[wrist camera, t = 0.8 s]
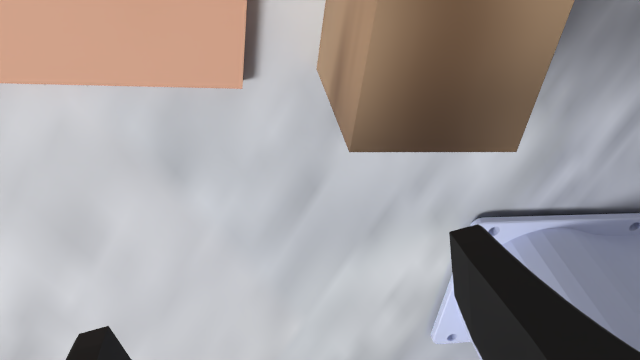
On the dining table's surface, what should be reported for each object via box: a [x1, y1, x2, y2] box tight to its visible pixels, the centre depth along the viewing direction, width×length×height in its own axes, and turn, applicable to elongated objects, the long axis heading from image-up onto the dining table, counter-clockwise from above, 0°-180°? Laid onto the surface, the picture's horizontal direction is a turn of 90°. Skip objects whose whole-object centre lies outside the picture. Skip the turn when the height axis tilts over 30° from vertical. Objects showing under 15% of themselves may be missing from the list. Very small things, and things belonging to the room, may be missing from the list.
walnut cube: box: [317, 0, 574, 152], centre depth 17 cm, size 5×5×5 cm
